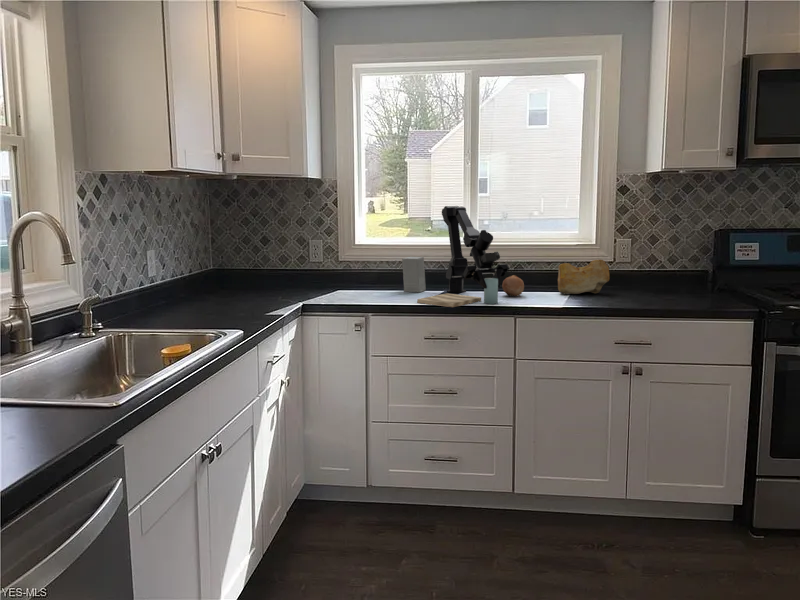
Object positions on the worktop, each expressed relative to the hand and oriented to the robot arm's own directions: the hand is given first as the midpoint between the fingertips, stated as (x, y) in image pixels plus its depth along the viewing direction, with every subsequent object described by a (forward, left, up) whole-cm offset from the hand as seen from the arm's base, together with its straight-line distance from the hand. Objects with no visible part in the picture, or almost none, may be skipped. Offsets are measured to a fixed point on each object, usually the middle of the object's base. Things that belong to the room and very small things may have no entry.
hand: (492, 287), depth 270 cm
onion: (-23, -4, -7) cm, 24 cm away
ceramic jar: (-1, -1, -7) cm, 7 cm away
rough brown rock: (-50, +14, -7) cm, 52 cm away
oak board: (+7, -16, -7) cm, 19 cm away
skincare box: (-6, -46, -7) cm, 47 cm away
